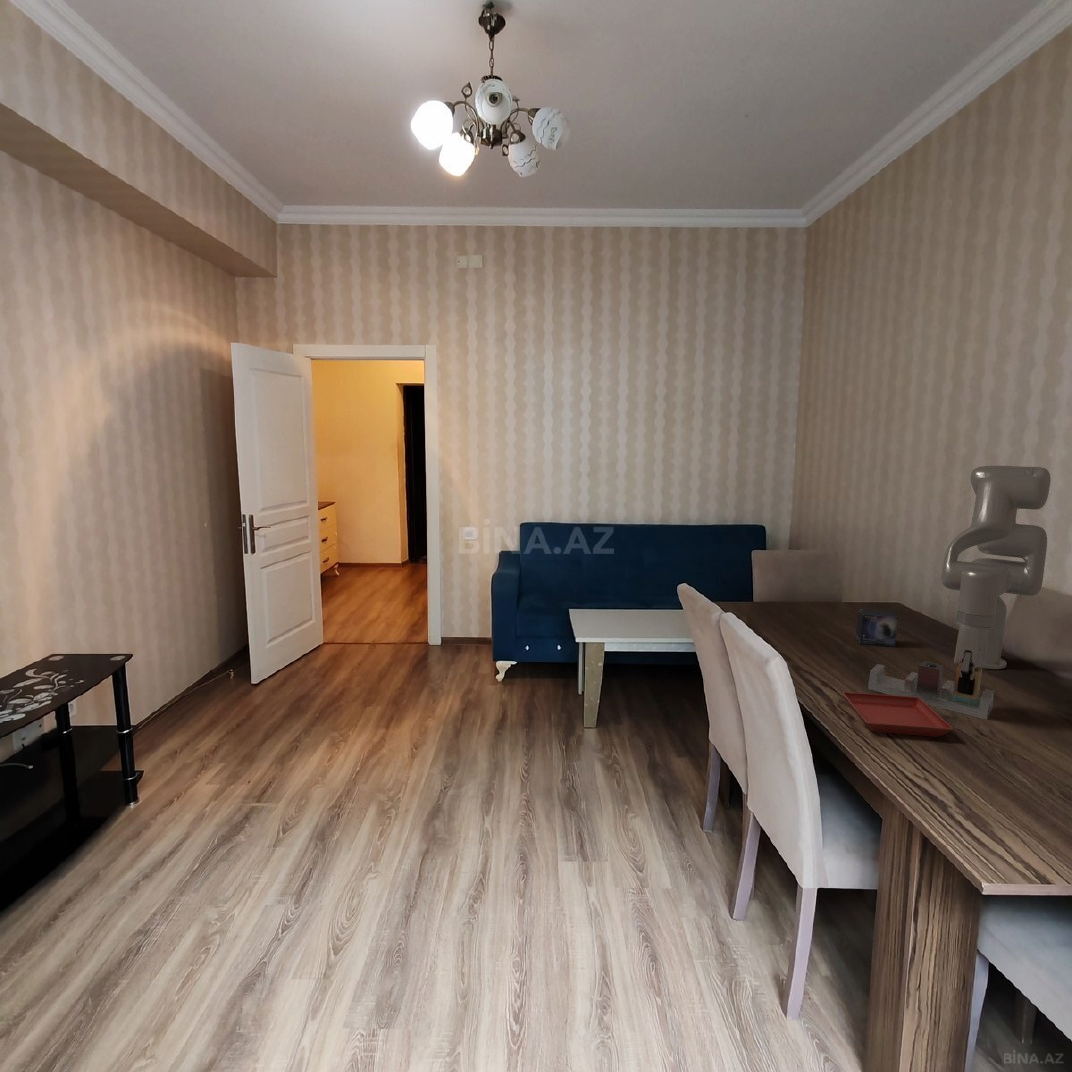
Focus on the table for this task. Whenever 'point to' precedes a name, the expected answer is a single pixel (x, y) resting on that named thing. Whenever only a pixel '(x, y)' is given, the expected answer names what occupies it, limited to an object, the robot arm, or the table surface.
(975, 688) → the yellow tall block
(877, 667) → the rail
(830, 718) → the table surface
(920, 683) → the dark knobbed cube
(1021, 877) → the table surface
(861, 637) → the small box
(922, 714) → the plant saucer
